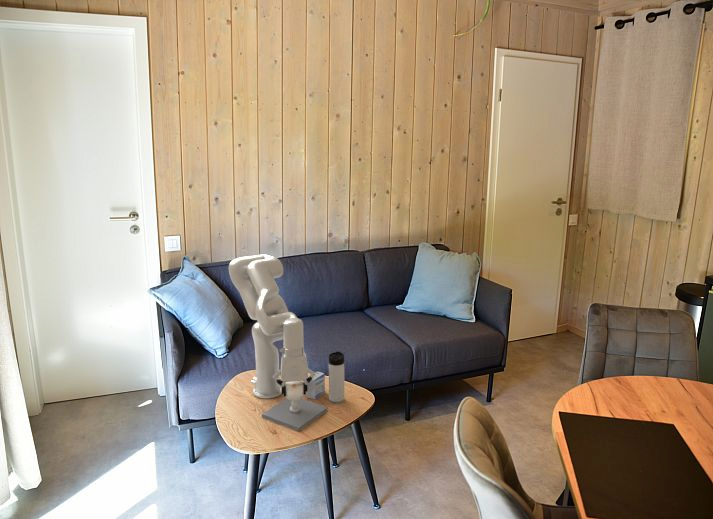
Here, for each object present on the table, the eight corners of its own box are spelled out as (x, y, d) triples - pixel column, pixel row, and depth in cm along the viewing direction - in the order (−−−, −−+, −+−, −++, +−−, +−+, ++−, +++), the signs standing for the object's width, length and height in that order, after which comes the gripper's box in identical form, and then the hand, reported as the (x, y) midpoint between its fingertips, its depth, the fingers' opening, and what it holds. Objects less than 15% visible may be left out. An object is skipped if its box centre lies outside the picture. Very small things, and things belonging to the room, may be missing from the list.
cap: (285, 392, 212) (285, 378, 211) (304, 391, 212) (303, 378, 211) (285, 400, 205) (284, 387, 204) (303, 400, 206) (303, 386, 204)
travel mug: (346, 397, 224) (346, 351, 219) (342, 405, 218) (342, 358, 213) (331, 395, 225) (331, 350, 221) (327, 403, 219) (326, 356, 214)
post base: (261, 417, 208) (261, 400, 206) (292, 398, 223) (291, 382, 221) (298, 431, 198) (298, 413, 197) (327, 410, 213) (327, 393, 211)
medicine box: (314, 400, 222) (314, 380, 219) (305, 397, 224) (305, 378, 222) (325, 392, 228) (325, 373, 226) (316, 389, 230) (316, 370, 228)
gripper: (270, 356, 199) (272, 400, 203) (317, 353, 202) (318, 396, 207) (269, 348, 206) (271, 391, 210) (315, 345, 210) (315, 387, 214)
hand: (294, 393), depth 208 cm, fingers closed on cap, 7 cm apart
